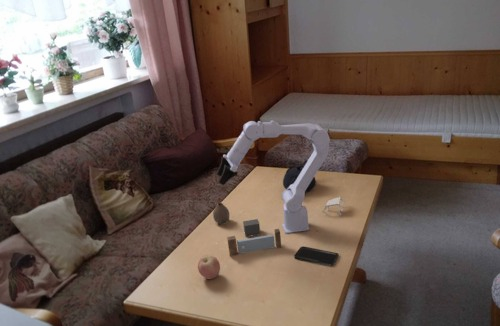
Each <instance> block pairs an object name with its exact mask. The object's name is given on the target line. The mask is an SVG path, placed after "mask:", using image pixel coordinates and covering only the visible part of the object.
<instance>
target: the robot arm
mask: <svg viewBox="0 0 500 326" xmlns="http://www.w3.org/2000/svg"><path fill="white" fill-rule="evenodd" d="M242 127H243V128H242V131H241V133H240V135H239V136H238V137H237V139H236V140H235V142H234V144H232V146H231V148H230V150H229V151H228V152H227V154H223V155H222V156H221V159H220V161H221V162H220V164H219V168H218V170H217V176H219V177H220V178H219V180H218V183H219V184H221V185H225V184H226V183H227V182H229V181H230V180H231V179H232V178H234V177H235V176H237V175H238V171H237V170H238V167H239V166H240V164H241V162H242V160H243V159H244V158H245V156H246V154H247V153H248V151H249V150H250V148H251V146H252V145H253V143H254V142H255V141H257V140H259V138H263V139H265V138H278V137H279V136H280V135H295V136H296V135H301V136H302V137H305V138H306V139H307V140H309V141H311V143H312V149H313V152H312V153H311V155H310V156H309V158H308V159H307V163H306V165H305V166H304V168H303V169H302V171H301V173H300V174H299V176H298V178H297V179H296V181H295V182H294V184H291V185H290V186H289V187H288V189H284V191H282V193H281V199H282V201H283V203H284V204H283V206H282V209H283V210H282V211H283V221H284V222H282V223H281V225H282V227H283V229H284V232H285V234H292V233H298V232H304V231H309V230H310V227H309V215H308V209H307V207H306V206H305V205H303V201H304V200H305V194H306V193H305V190H306V189H307V187H308V186H309V184H310V182H311V181H312V179H313V178H314V177H315V176H316V174H317V173H318V171H319V170H320V168H321V166H323V165H322V164H323V163H325V161H326V158H327V157H328V155H329V151H330V142H331V137H330V136H329V134H328V131H326V130H325V129H324V128H322V126H321V125H320V124H319V123H316V122H315V123H311V122H305V123H296V124H280V123H279V122H277V121H275V120H270V121H262V122H261V121H260V120H258V121H257V122H256V121H254V120H250V121H248V122H246V123H244V124H243V126H242Z"/></svg>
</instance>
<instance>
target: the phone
mask: <svg viewBox="0 0 500 326" xmlns="http://www.w3.org/2000/svg"><path fill="white" fill-rule="evenodd" d="M293 256H294V259H295V260H298V261H303V262H308V263H312V264H317V265H321V266H326V267H330V268H332V267H334V266H335V264H336V263H337V261H338V259H339V257H340V254H339V253H338V252H333V251H328V250H322V249H318V248H314V247H310V246H309V247H308V246H299V248H298V250H297V251H296V253H295V254H294V255H293Z"/></svg>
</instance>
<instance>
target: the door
mask: <svg viewBox="0 0 500 326" xmlns="http://www.w3.org/2000/svg"><path fill="white" fill-rule="evenodd" d="M236 244H237V252H238V254H244V253H250V252H256V251H262V250H268V249H273V248H276V242H275V234H269V235H263V236H256V237H251V238H244V239H238V240H237V239H236Z"/></svg>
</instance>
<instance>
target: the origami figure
mask: <svg viewBox="0 0 500 326" xmlns="http://www.w3.org/2000/svg"><path fill="white" fill-rule="evenodd" d="M341 201H342V203H341ZM345 202H346V200H345V199H343V198H342V196H339V197H335V198H332V199H329V200H327V203H326V204H325V206H324V208H323V210H322V211H321V212H322V213H323V214H325V215H328V212H329V211H330V210H331V209H330V207H333V206H334V207H335V206H338V207H339V209H340V210H339V211H338V214H339V215H340V216H342V213H341V212H343V208H344V207H343V204H344V203H345ZM340 203H341V204H340ZM327 208H328V212H325V210H326V209H327Z"/></svg>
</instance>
